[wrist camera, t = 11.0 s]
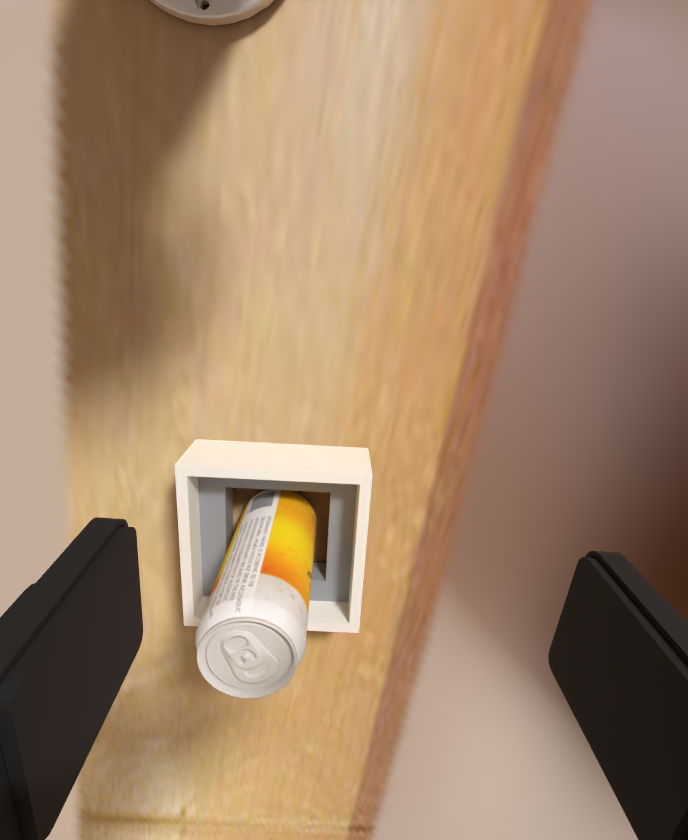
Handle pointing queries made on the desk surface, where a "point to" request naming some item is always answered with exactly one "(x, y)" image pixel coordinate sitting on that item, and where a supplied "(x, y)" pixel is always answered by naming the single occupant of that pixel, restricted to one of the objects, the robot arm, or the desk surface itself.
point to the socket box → (275, 470)
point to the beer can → (260, 599)
